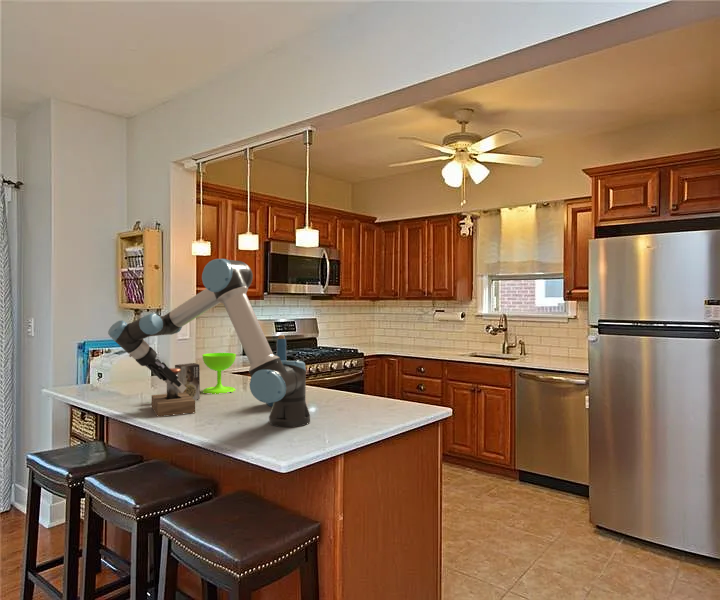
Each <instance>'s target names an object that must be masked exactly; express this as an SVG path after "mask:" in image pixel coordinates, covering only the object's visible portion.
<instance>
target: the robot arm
mask: <svg viewBox="0 0 720 600" xmlns="http://www.w3.org/2000/svg"><path fill="white" fill-rule="evenodd" d="M253 278H254V275H253V271H252V268H251V267H250V266H249V265H248V264H247V263H245V262H244V261H242V260H233V259H227V258H215V259H212V260H210V261H208V263H206V264H205V266H204V268H203V270H202V274H201V280H202V284H203V287H204V289H203V290H201V291H200V292H198V293H197V294H195V295H194V296H192V297H190V298H189V299H188V300H186V301H185V302H183V303H181V304H180V305H178V306H177V307H175V308H174V309H172V310H171V311H170V312H168V313H166V314H164V315H159V314H157V313H153V312H152V313H149V314H146V315H144V316H142V317H139V318H138V319H136V320H134V321H131V322H128V323H127V321H125V320H123V319H122V320H118V321H116V322H115V323H113V324H112V325H111V326H110V327H109V329H108V331H107V335H108V337H110V338H111V339H112V340H113V341H114V343H116V344H117V345H118V346H119V347H121V348H122V349H123V350H124V351H125V352H126V353H127V354H129V355H128V357H129V358H132V359H133V360H135V362H137V363H138V364H139V365H140V366H141V367H146V368H147V369H149V370H150V371H151V372H152V373H153V375H155V376H156V377H157V378H158V379H159V380H161V381H164V382H165V384H167V379H168V380H170V381H171V383H170V384H173V385H174V386H175V387H176V388H177V389H178V390H179V391H180V392H181V393H183V392H184V390H185V389H186V387H185V386H184V385H183V384H182V383H181V382H180V381H179V380H178V376H176V375H175V374H174V373H173V372H172V371H171V370H170V369H169V367H168V365H167V364H166V363H165V362H164V361H163V362H161V360H160V359H158V358H156V357H157V352H156V350H155V349H154V348H152V347H151V346H150V344H149V343H148V342H147V341H145V339H146V338H149V337H150V338H151V337H157V336H167V335H174V334H178V333H180V331H181V330H182V328H183V327H184V326H185V325H187V324H188V323H190V322H191V321H194V320H195V319H196V318H198V317H200V316H202V315H203V314H204V313H207V311H210V310H211V309H212V308H215V307H216V306H217V305H219V304H223V306H224V308H225V310H226V312H227V315H228V317H229V319H230V322H231V324H232V326H233V328H234V331H235V333H236V335H237V337H238V340H239V342H240V344H241V346H242V349H243V351H244V354H245V355H246V358H247V360H248V362H249V364H250V367H249V369H248V373H249V375H250V377H251V378H250V379H249V380H250V381H249V389H250V392H251V395H252V396H253V397H254V398H255V399H256V400H257V401H259V402H262V403H264V404H266V403H272V402H274V404H273V407H271V410H270V413H269V418H268V419H269V421H268V424H270V425H271V426H274V427H281V428H283V427H284V428H289V427H290V428H292V427H293V426H295V427H301V426H300V425H302V426H305V425H304V424H306V425H308V424H310V423H309V422H311V415H310V411H309V409H308V406H307V402H306V393H307V392H306V391H307V389H306V384H307V383H306V382H307V381H306V380H307V379H306V377H307V375H306V373H307V369H306V363H305V362H304V361H301V360H287V361H282V360H280V357H278V356H277V355H276V354H274V353H273V351H272V348H271V346H270V344H269V341H268V340H267V339H268V338H267V337H266V335H265V333H264V330H263V328H262V326H261V324H260V322H259V319H258V317H257V315H256V313H255V311H254V309H253V306H252V305H251V304H252V303H251V301H250V300H249V297H248V295H247V292H248V290H249V287H251V285H252V283H253ZM307 423H308V424H307Z"/></svg>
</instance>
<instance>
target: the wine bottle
mask: <svg viewBox="0 0 720 600" xmlns="http://www.w3.org/2000/svg"><path fill="white" fill-rule="evenodd" d="M277 337H278V338H277V339H276V346H275V347H276V356H278V357H280V360H282V361H288V360H287V339H286V337H285V335H283V334H281V335H279V334H278V336H277ZM265 404H266V405H267V406H268V407H270V408H272V407H273V404H274V402H272V403H265Z"/></svg>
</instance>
